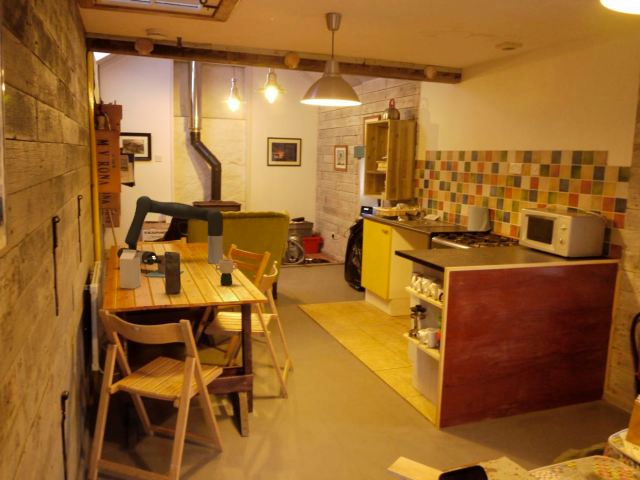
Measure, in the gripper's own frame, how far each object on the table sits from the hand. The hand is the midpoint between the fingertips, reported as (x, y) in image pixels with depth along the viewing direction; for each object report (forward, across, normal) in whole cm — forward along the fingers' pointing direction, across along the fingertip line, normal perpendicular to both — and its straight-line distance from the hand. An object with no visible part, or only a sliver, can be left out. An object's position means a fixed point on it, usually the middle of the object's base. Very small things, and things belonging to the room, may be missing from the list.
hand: (166, 260), depth 299 cm
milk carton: (+6, -30, +8) cm, 32 cm away
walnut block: (-2, 0, +7) cm, 7 cm away
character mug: (+42, 0, +8) cm, 43 cm away
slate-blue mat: (-2, 0, +8) cm, 8 cm away
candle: (+31, -26, +8) cm, 42 cm away
